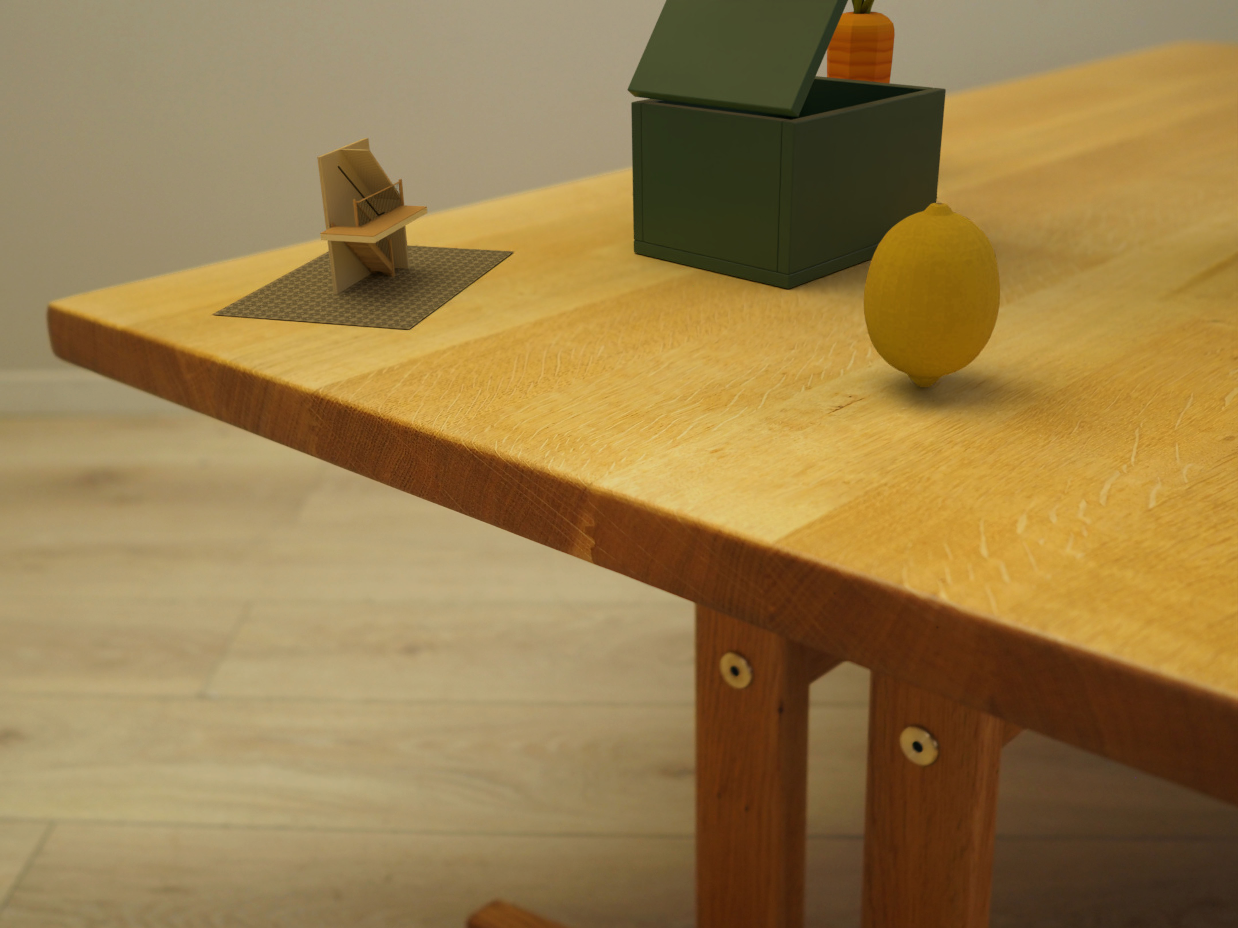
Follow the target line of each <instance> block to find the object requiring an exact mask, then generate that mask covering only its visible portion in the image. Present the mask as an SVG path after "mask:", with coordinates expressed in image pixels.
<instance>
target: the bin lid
mask: <svg viewBox="0 0 1238 928" xmlns="http://www.w3.org/2000/svg"><path fill="white" fill-rule="evenodd" d="M848 1H849V0H665V2H664V4H663V7H662V9H661V11H660V14H659V16H658V19H657V21H656V23H655V26H654V27H653V30H652V32H651V35H650V36H649V39H648V41H647V44H646V46H645V48H644V51H643V52H642V55H641V58H640V60H639V62H638V64H637V65H636V68H635V71H634V73H633V75H632V78H631V80H630V83H629V85H628V87H627V91H628V93H630V94H631V95H632V96H633V97H635V98H642V99H657V100H665V101H673V102H681V103H689V104H697V105H705V106H713V107H721V108H729V109H737V110H745V111H753V112H761V113H769V114H777V115H785V116H793V117H798V116H799V114H800V111H801V109H802V107H803V104H804V102H805V100H806V97H807V95H808V93H809V90H810V88H811V86H812V83H813V81H814V79H815V76H817V74H818V72H819V69H820V67H821V66H822V65H821V64H822V62H823V60H824V58H825V55H826V54H827V48H828V46H829V44H830V41H831V39H832V37H833V34H834V32H835V30H836V27H837V25H838V23H839V20H840V18H841V16H842V13H844V11H845V8H846V6H847V5H848Z"/></svg>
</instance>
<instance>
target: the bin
mask: <svg viewBox="0 0 1238 928" xmlns="http://www.w3.org/2000/svg"><path fill="white" fill-rule="evenodd" d="M946 92H947V90H946V88H943V87H932V86H931V87H930V86H923V85H910V84H900V83H881V82H871V81H861V80H850V79H840V78H830V77H827V76H818V75H816V76H815V79H814V81H813V83H812V86H811V88H810V90H809V93H808V95H807V97H806V100H805V102H804V104H803V107H802V109H801V111H800V114H799V116H798V117H793V116H785V115H777V114H769V113H761V112H753V111H745V110H737V109H729V108H721V107H713V106H705V105H697V104H689V103H681V102H673V101H665V100H657V99H649V98H645V99H641V100H636V101H631V102H630V103H631V105H630V107H631V109H630V110H631V111H630V112H631V161H632V162H631V166H632V170H631V171H632V221H633V223H632V226H633V227H632V228H633V253H634V254H638V255H641V256H647V257H650V258H654V259H659V260H663V261H667V262H671V263H677V264H680V265H685V266H688V267H694V268H696V269H701V270H707V271H710V272H714V273H719V274H722V275H727V276H731V277H735V278H740V279H743V280H748V281H752V282H757V283H761V284H765V285H770V286H773V287H778V288H782V289H787V290H789V289H792V288H794V287H797V286H800V285H803V284H806V283H808V282H809V283H810V282H811V281H814V280H816V279H817V280H818V279H819V278H822V277H825V276H828V275H831V274H833V273H836V272H839V271H841V270H845V269H847V268H851V267H853V266H856V265H858V264H861V263H864V262H867V261H869V260H872V258H873V255H874V253H875V251H876V249H877V247H878V245H879V243H880V242H881V240H882V239H883V237H884V236H885V235H886V233H887V232H888V231H889V230H890V229H891V228H892V227H893V226H895V225H896V224H897V223H899V222H900V221H902V220H903V219H905V218H907V217H909V216H911V215H913V214H916V213H918V212H922V211H924V210H925V209H926V208H927V207H928V206H929V205H930V204H932V203H937V198H938V188H939V176H940V164H941V163H940V162H941V151H942V150H941V149H942V141H943V140H942V138H943V127H944V116H945V115H944V114H945V105H946V104H945V103H946V94H947V93H946Z"/></svg>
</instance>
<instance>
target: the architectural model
mask: <svg viewBox="0 0 1238 928" xmlns="http://www.w3.org/2000/svg"><path fill="white" fill-rule="evenodd" d="M317 166H318V167H317V168H318V175H319V182H320V183H319V184H320V190H321V191H320V192H321V200H322V207H323V216H324V223H325V230H323V231H322V232H320V234H319V235H320V241H327V248H328V251H327V252H325V253H322V254H320V255H319V256H317V257H315V258H314V259H312V260H310V261H308V262H307V263H306V262H305V263H304V264H302V265H300V266H299V267H297V268H294V269H293V270H291V271H289V272H288V273H286V274H284V275H282V276H280V277H278V278H276V279H274V280H273V281H271V282H269V283H267V284H265V285H263V286H262V287H260V288H258V289H256V290H255V291H252V292H250V293H249V294H247V295H245V296H243V297H242V298H239V299H237V300H236V301H233V302H232V303H230V304H228V305H227V306H225V307H223V308H221V309H219V310H217V311H215V312H214V313H213V315H214V316H215V315H217V316H229V317H241V318H242V317H243V318H255V319H258V318H259V319H268V320H269V319H270V320H281V321H293V322H307V323H308V322H309V323H322V324H333V325H334V324H335V325H349V326H360V327H361V326H362V327H373V328H375V327H376V328H387V329H401V330H410V329H411V328H412V327H414V326H416V325H417V324H418V323H420V322H421V321H422V320H423V319H424V318H426V317H427V316H429V315H430V314H431V313H434V311H436V310H437V309H438V308H440V307H441V306H443V305H444V304H445V303H446V302H448V301H449V300H451V299H452V298H453V297H454V296H456V295H457V294H458V293H460V292H461V291H463V290H464V289H465V288H467V287H468V286H469V285H471V284H472V283H473V282H475V281H476V280H477V279H479V278H480V277H482V276H483V275H484V274H486V273H487V272H488V271H490V270H491V269H492V268H494V267H496V266H497V265H498V264H500V263H501V262H502V261H503V260H504V259H506V258H507V257H509V256H510V255H511V254H513V253H514V252H515V251H513V250H498V249H497V250H496V249H495V250H494V249H481V248H480V249H479V248H478V249H477V248H463V247H462V248H458V247H445V246H444V247H441V246H425V245H408V239H407V227H406V226H407V225H408V224H411V223H412V222H414V221H416V220H418V219H419V218H422V217H424V216H425V215H426V214H428V206H427V205H426V206H425V205H407V204H406V205H405V199H404V198H405V197H404V188H403V186H404V185H403V180H402V178H399V179H398V181H396V182H395V183H393V182H392V181H391V179H390V178H389V176H388V175H387V173H386V172H385V170H384V168H383V167H382V165H381V164H380V163H379V161H378V160H377V159H376V157H375V155H374V154H373V152H372V151H371V150H370V139H369V137H364V138H361V139H358V140H356V141H354V142H351V143H348V144H346V145H343V146H341V147H339V148H336V149H333V150H331V151H329V152H326V153H323V154H321V155H319V156H317Z"/></svg>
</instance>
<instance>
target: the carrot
mask: <svg viewBox="0 0 1238 928" xmlns="http://www.w3.org/2000/svg"><path fill="white" fill-rule="evenodd" d="M874 3H875V0H851V4H852V8H853V11H846V12H843V13H842V16H841V18H840V20H839V23H838V25H837V27H836V30H835V32H834V34H833V37H832V39H831V41H830V44H829V46H828V48H827V51H826V77H830V78H840V79H850V80H861V81H871V82H881V83H890V82H891V75H892V66H893V57H894V48H895V47H894V46H895V35H896V33H895V25H894V22H893V21H892V20H891V19H890V17H888V16H887V15H885V14H884V13H882V12H877V11H872V8H873V6H874Z"/></svg>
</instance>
